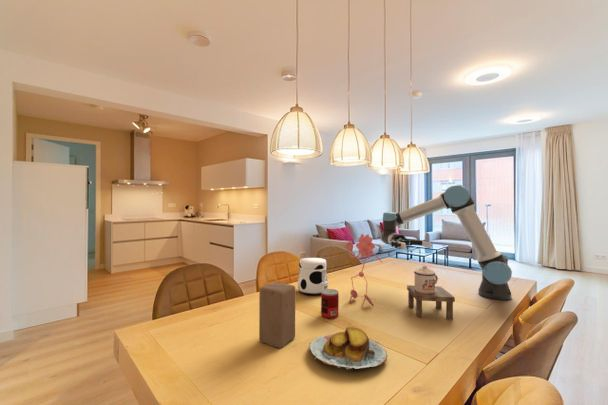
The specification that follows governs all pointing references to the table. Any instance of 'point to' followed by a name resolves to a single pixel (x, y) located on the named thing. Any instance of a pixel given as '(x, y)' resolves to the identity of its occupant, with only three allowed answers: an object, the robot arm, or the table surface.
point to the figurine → (365, 250)
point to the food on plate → (348, 349)
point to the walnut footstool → (437, 296)
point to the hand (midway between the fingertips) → (417, 245)
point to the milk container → (312, 276)
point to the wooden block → (277, 314)
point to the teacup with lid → (425, 280)
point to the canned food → (329, 303)
